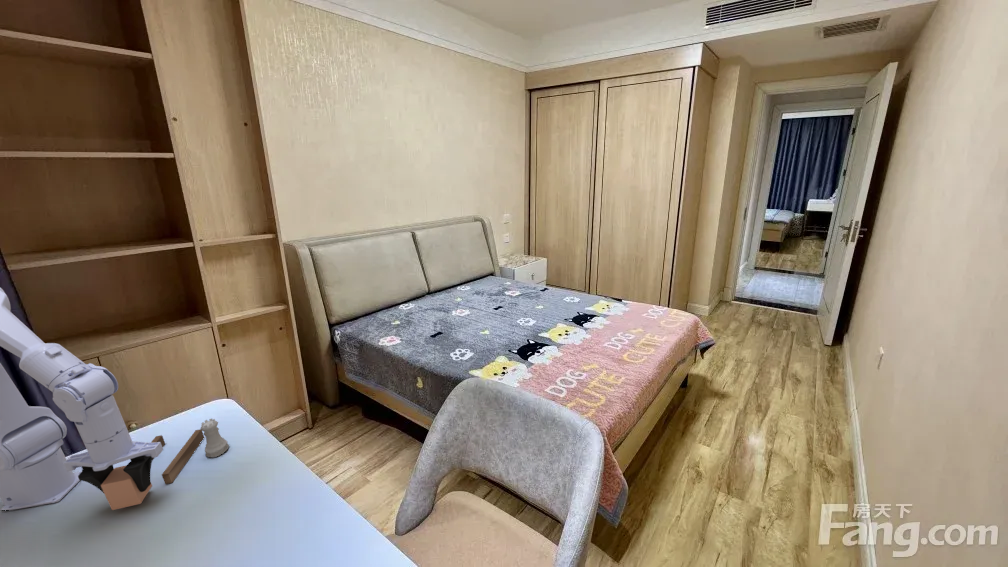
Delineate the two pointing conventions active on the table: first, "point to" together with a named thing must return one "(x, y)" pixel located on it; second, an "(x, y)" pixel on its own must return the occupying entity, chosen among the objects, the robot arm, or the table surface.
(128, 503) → the terracotta block
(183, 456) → the walnut channel
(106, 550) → the table surface
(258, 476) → the table surface
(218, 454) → the rook chess piece
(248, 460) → the table surface
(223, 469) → the table surface
